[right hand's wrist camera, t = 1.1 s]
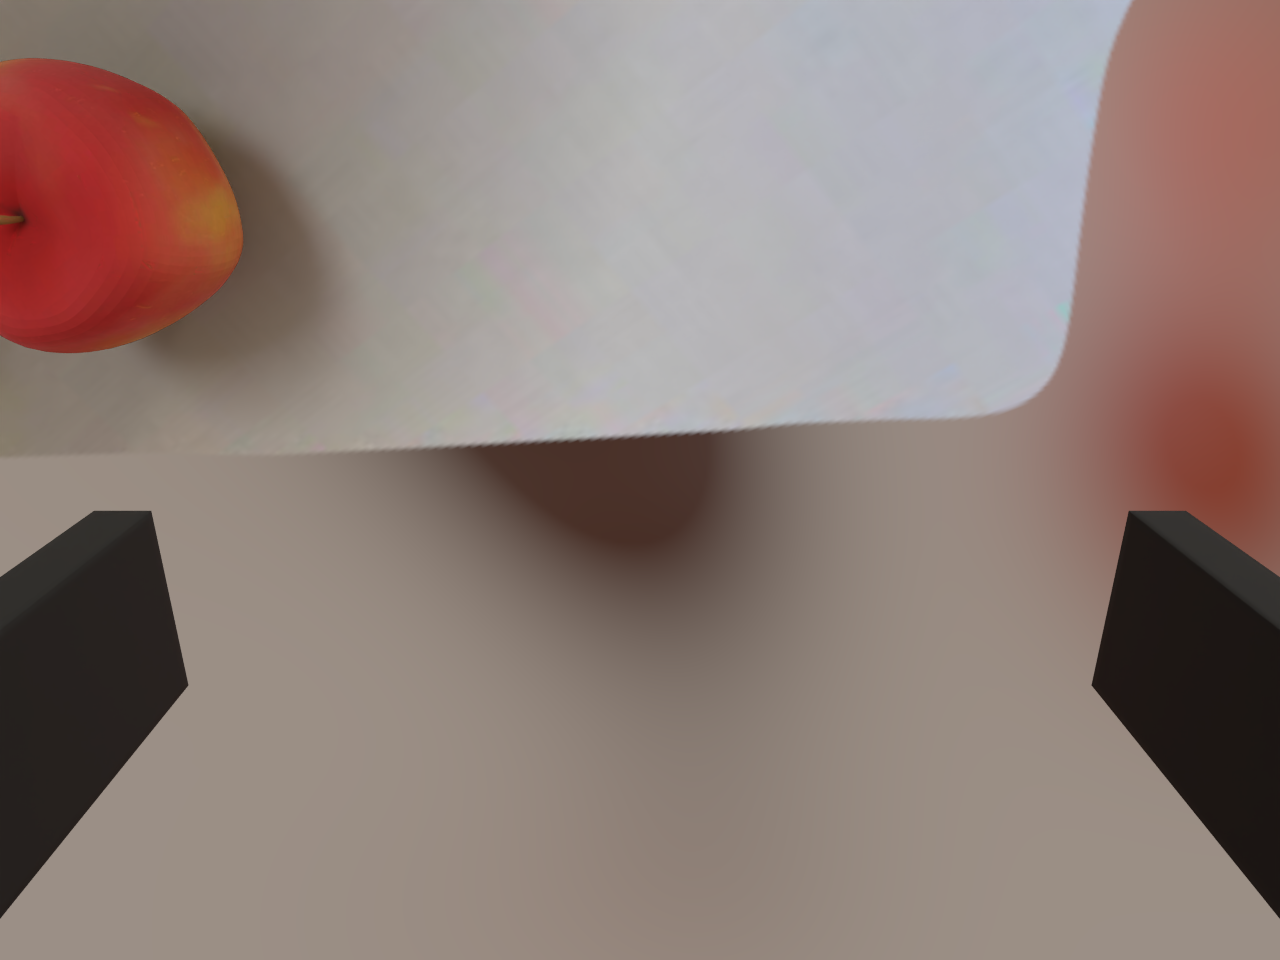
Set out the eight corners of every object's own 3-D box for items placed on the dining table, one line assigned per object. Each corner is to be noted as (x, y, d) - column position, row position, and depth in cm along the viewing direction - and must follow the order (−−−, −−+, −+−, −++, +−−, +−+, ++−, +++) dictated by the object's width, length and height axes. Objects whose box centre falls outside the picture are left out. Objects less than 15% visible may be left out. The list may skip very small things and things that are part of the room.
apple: (270, 76, 34) (133, 50, 25) (295, 326, 38) (182, 385, 28) (16, 67, 34) (-219, 37, 25) (62, 318, 38) (-129, 375, 28)
